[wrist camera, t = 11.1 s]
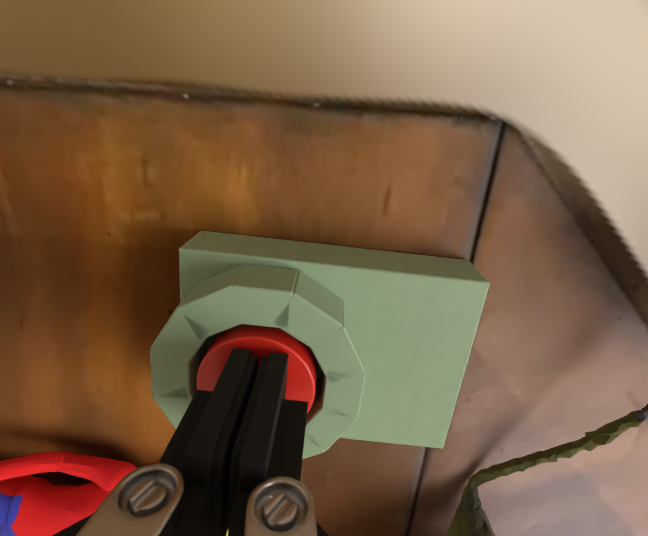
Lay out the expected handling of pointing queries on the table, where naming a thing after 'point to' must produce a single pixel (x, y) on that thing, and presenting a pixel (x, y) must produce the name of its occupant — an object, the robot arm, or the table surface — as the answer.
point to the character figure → (53, 491)
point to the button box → (332, 330)
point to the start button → (261, 344)
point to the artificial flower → (471, 521)
